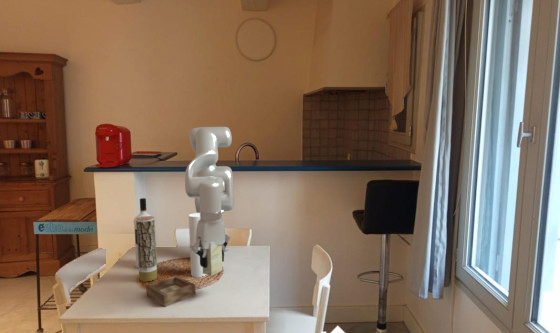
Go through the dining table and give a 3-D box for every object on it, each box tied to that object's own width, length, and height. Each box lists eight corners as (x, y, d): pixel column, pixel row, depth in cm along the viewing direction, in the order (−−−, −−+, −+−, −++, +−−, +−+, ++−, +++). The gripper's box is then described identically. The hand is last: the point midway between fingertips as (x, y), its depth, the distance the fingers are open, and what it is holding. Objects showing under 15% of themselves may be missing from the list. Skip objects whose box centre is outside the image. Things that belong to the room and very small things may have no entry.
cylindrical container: (193, 278, 159) (191, 217, 156) (189, 272, 165) (186, 214, 162) (210, 275, 162) (209, 215, 159) (205, 269, 169) (203, 212, 166)
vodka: (149, 270, 169) (145, 200, 165) (130, 268, 171) (126, 199, 168) (161, 262, 178) (158, 196, 174) (143, 260, 180) (139, 195, 176)
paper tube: (151, 283, 155) (148, 220, 152) (136, 282, 156) (132, 220, 153) (160, 276, 162) (157, 216, 159) (145, 275, 163) (142, 215, 160)
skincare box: (211, 276, 139) (210, 243, 137) (202, 273, 142) (200, 241, 140) (223, 270, 145) (222, 238, 143) (213, 267, 147) (212, 236, 145)
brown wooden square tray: (176, 285, 153) (176, 275, 152) (195, 294, 144) (194, 284, 144) (146, 296, 144) (146, 285, 143) (164, 306, 135) (164, 295, 135)
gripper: (223, 208, 148) (224, 254, 151) (183, 218, 136) (185, 267, 139) (236, 212, 143) (237, 259, 146) (196, 223, 131) (198, 274, 134)
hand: (212, 263), depth 143 cm, fingers closed on skincare box, 6 cm apart
